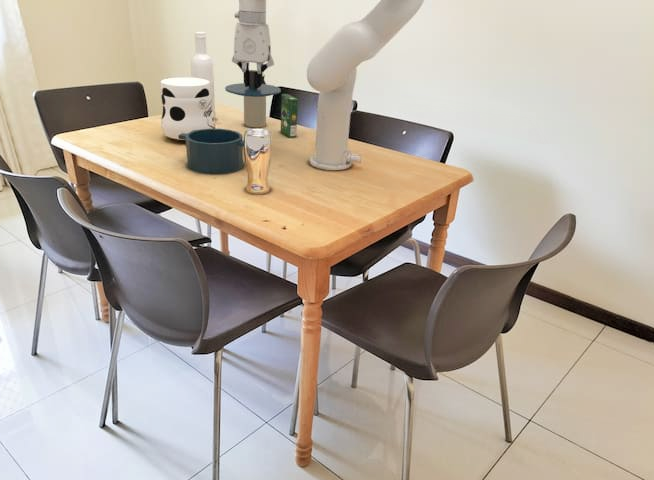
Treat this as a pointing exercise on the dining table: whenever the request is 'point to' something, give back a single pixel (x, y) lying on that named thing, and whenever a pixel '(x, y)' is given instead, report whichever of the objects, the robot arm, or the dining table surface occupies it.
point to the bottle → (203, 65)
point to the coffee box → (289, 115)
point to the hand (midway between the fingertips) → (253, 86)
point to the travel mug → (255, 110)
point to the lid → (252, 88)
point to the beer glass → (258, 159)
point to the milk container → (185, 106)
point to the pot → (214, 150)
